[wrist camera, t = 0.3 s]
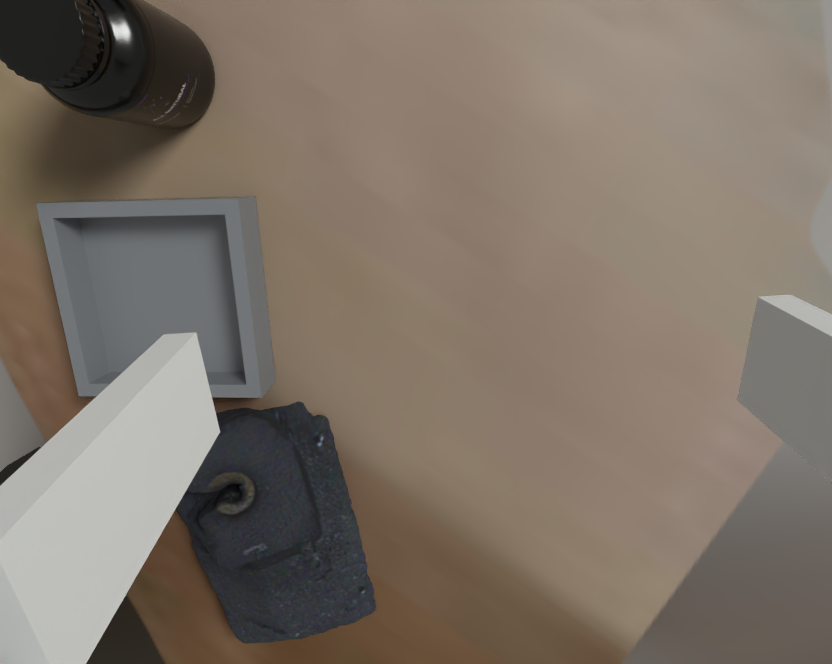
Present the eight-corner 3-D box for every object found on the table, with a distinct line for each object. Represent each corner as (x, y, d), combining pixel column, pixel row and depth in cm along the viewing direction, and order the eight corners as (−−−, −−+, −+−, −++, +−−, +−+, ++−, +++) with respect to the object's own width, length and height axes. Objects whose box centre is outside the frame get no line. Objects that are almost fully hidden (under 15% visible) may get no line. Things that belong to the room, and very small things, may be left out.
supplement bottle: (214, 139, 37) (101, 124, 25) (118, 117, 37) (-38, 92, 25) (224, 29, 34) (107, -42, 23) (123, 6, 35) (-45, -76, 23)
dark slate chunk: (228, 631, 50) (205, 677, 45) (147, 420, 44) (111, 448, 39) (386, 613, 48) (378, 660, 43) (323, 389, 42) (306, 415, 37)
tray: (68, 200, 39) (35, 203, 36) (255, 196, 37) (237, 198, 34) (105, 380, 43) (78, 396, 40) (275, 381, 41) (261, 397, 38)
